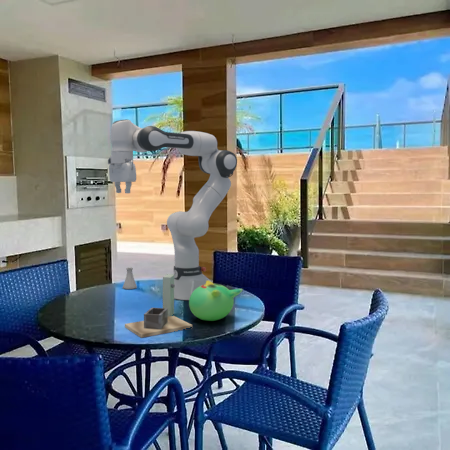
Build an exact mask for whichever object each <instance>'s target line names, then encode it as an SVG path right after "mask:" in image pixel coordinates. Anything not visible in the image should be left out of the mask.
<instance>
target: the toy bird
mask: <svg viewBox="0 0 450 450" xmlns="http://www.w3.org/2000/svg"><path fill="white" fill-rule="evenodd" d="M211 281H212V280H211ZM211 281H206V284H204V285H201V286H199V287H198V288H196V289H195V290H194V291H193V293H192V294H191V296H190V299H189V300H188V306H189V307H188V308H189V310H190V311H191V313H192V314H193V316H194V317H196V318H198V319H200V320H202V321H206V322H214V321H219V320H221V319H224V318H225V317H227V316H228V315H229V314H230V312H231V311H232V309H233V307H234V303H235V301H234V300H235V299H234V298H235V297H237V296H238V295H240V294H241V293H242V292H243V289H244V288H235V289H229V288H228V287H226V286H225V285H222V284H219V283H214V282H213V281H212V282H213V283H212V282H211Z"/></svg>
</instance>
